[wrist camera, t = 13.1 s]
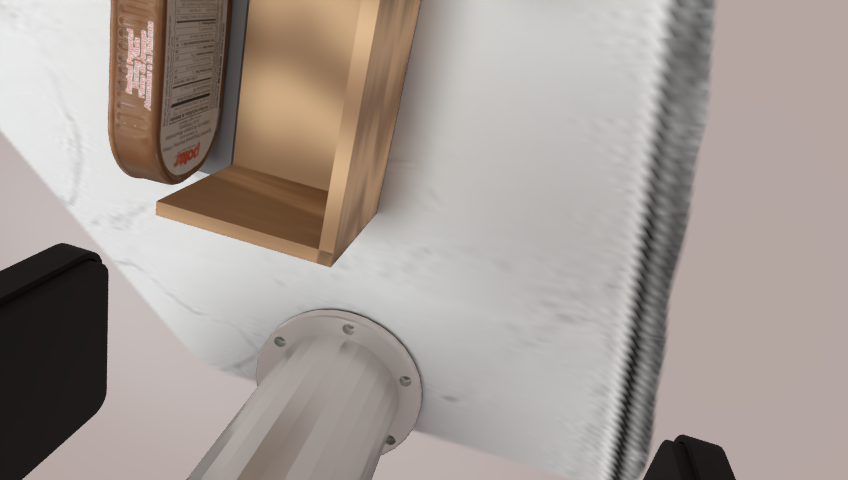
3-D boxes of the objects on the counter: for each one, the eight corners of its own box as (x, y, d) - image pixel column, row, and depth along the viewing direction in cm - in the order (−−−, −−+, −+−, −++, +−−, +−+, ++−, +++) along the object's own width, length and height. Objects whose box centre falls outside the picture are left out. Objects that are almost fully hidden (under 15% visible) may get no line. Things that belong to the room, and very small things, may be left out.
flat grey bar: (231, 178, 40) (229, 179, 40) (172, 161, 41) (169, 162, 41) (260, -101, 34) (257, -102, 33) (188, -118, 34) (185, -119, 34)
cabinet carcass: (376, 213, 39) (321, 278, 30) (236, 172, 40) (139, 223, 31) (432, -53, 33) (384, -78, 23) (264, -94, 34) (153, -134, 24)
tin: (199, -89, 34) (98, -118, 27) (250, -76, 34) (162, -102, 26) (182, 157, 40) (96, 192, 32) (225, 170, 40) (148, 208, 32)
